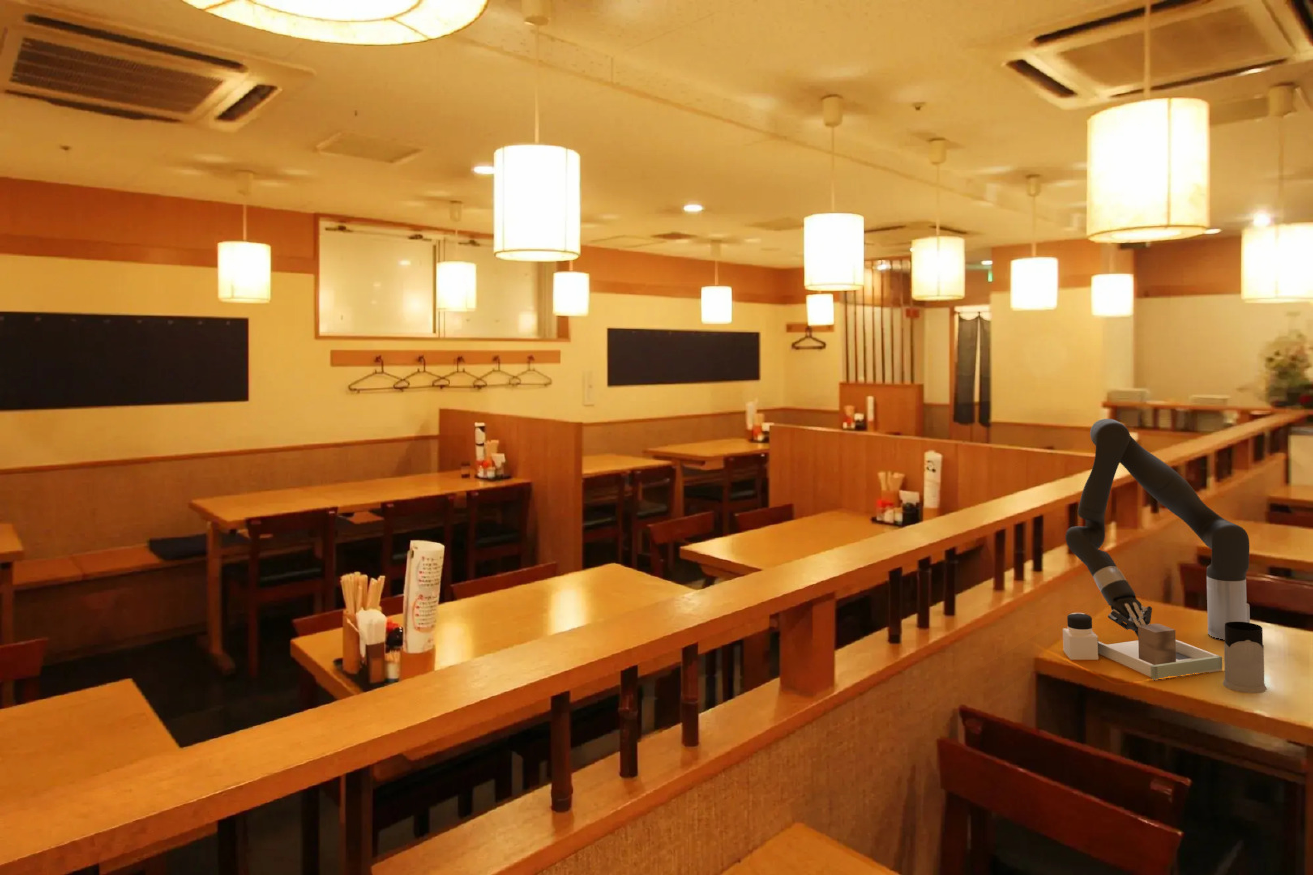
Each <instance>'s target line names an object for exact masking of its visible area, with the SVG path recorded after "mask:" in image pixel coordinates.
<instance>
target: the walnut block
mask: <svg viewBox="0 0 1313 875" xmlns="http://www.w3.org/2000/svg"><path fill="white" fill-rule="evenodd" d="M1137 639H1138V645H1139V659H1141V660H1144V661H1146V662H1148V663H1151V664H1153V665H1158V664H1165V663H1172V662H1176V640H1177V639H1176V629H1174V628H1171V627H1169V626H1166V625H1163V624H1161V623H1157V622H1156V623H1150V624H1148V625H1142V626H1138V636H1137Z"/></svg>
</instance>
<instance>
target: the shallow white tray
mask: <svg viewBox="0 0 1313 875" xmlns="http://www.w3.org/2000/svg"><path fill="white" fill-rule="evenodd" d="M1176 652H1178V653H1180V654H1183V655H1185V656H1188V657H1191V658H1189V659H1182V660H1178V659H1176V662H1172V663H1165V664H1158V665H1153V664H1151V663H1148V662H1146V661H1144V660H1141V659H1139V645H1138V640H1131V641H1124V642H1118V643H1116V642H1115V643H1109V644H1106V643H1103V642H1102V641H1099V640H1098V655H1101V656H1103V657H1106V658H1108V659H1109V660H1112V661H1114V662H1116V663H1119V664H1121V665H1122V666H1125V667H1127V668H1130V669H1132V670H1134V671H1136V672H1138V673H1140V674H1142V675H1145V676H1147V677H1150V678H1151V679H1153V680H1152V681H1154V680H1155V681H1157V680H1156V679H1159V678H1164V677H1168V676H1181V675H1186V674H1193V673H1194V674H1195V673H1203V672H1209V673H1214V672H1215V673H1216V672H1220V671H1221V670H1222V671H1223V657H1222V656H1220V655H1218V654H1215V653H1213V652H1210V651H1207V650H1205V649H1201V648H1199V647H1196V646H1194V645H1192V644H1189V643H1186V642H1184V641H1181V640H1178V639H1176ZM1222 671H1221V672H1222ZM1203 674H1204V673H1203ZM1151 679H1150V680H1151Z"/></svg>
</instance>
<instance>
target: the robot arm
mask: <svg viewBox="0 0 1313 875" xmlns="http://www.w3.org/2000/svg"><path fill="white" fill-rule="evenodd" d="M1089 435H1090V439H1091V442H1092V444H1093V445H1094V446H1095V453H1094V454H1095V455H1094V461H1093V465H1092V468H1091V471H1090V473H1089V476H1088V477H1087V480H1086V482H1085V485H1084V487H1083V488H1082V492H1081V496H1080V499H1079V500H1080V501H1079V503H1078V507H1077V508H1078V509H1077V515H1078V516H1079V517H1080V519H1083V520H1085V526H1082V525H1081V526H1080V525H1078V526H1076V525H1075V526H1071V527H1069V528H1068V529H1067V530H1066V533H1065V542H1066V545H1067V546H1068V549H1069V550H1071V552H1072V553H1073V554H1074V555H1075V556H1076V557H1077V558H1078V560H1080V561H1081V562H1082V563H1083V564H1084V565H1085V566H1086V567H1087V568H1086V569H1088V571H1089V573H1090V575H1091V576H1092V578H1093V579H1094V583H1095V584H1096V587H1097V588H1098V590H1099V591H1100V593H1101V595H1102V596H1103V598H1104V599H1105V600H1104V601H1106V603H1107V605H1108V606H1110V608H1111V611H1110V613H1109V614H1108V615H1107V618H1108V619H1109V620H1110V621H1112V622H1114V623H1116V624H1117V625H1119V626H1120V627H1122V628H1124V629H1125V630H1127V631H1128V630H1132V631H1133V632H1134V634H1136V636H1137V637H1138V626H1142V625H1149V624H1151V622H1152V620H1151V619H1152V615H1153V614H1152V612H1153V608H1152V606H1144V605H1142V602H1141V601H1139V600H1138V599H1137V597H1136V593H1135V591H1134V589H1133V587H1132V586H1131V585H1130V583H1129V581H1128V580H1127V578H1126V577H1125V575H1124V573H1123V572H1122V571H1121V570H1120V568H1118V566H1117V564H1116V562H1115V561H1114V559H1113V558H1112V556H1111V555H1110V554H1109V553H1108V552H1107V551H1105V550H1102V549H1100V548H1101V547H1102V546H1103V544H1104V541H1105V537H1106V536H1105V535H1106V534H1105V532H1106V531H1105V530H1106V529H1105V528H1106V527H1105V513H1106V510H1107V506H1108V502H1109V498H1110V494H1111V490H1112V487H1113V483H1114V479H1115V476H1116V473H1117V470H1118V467H1119V464H1120V465H1122V466H1123V467H1124V469H1126V470H1127V471H1128V473H1129V474H1130V475H1131V476H1132V477H1133V479H1135V481H1136V482H1137V483H1138V484H1139V485H1140V486H1141V487H1142V488H1143V490H1145V491H1146V492H1147V493H1148V494H1149V495H1150V496H1152V498H1154V500H1156V501H1157V502H1159V504H1161V506H1164V508H1166V509H1167V510H1168V511H1170V512H1171V513H1172V514H1173V515H1175V516H1176V517H1178V518H1179V519H1180V520H1182V521H1183V522H1184V523H1185V524H1186V525H1187V526H1188V527H1189V528H1190V529H1191V530H1192V531H1193V532H1194V534H1196V535H1197V537H1198V538H1199V539H1200V540H1201V541H1202V542H1203V543H1204V545H1206V547H1208V549H1211V561H1210V562H1211V563H1210V564H1209V565H1208V566H1207V567H1206V600H1207V601H1206V603H1207V604H1206V605H1207V606H1206V607H1207V608H1206V609H1207V612H1206V613H1207V635H1208V634H1209V635H1211V636H1212V637H1211V636H1210V637H1211V638H1213V637H1215V638H1214V639H1216V638H1219V639H1218V640H1220V639H1223V640H1222V641H1225V623H1227V622H1233V621H1235V622H1248V623H1251V619H1250V618H1251V616H1250V614H1251V613H1250V611H1251V610H1250V604H1249V603H1247V572H1248V571H1249V566H1250V538H1249V534H1248V533H1247V531H1246V529H1244V528H1243V527H1242V526H1240V525H1238V524H1236V523H1233V522H1231V521H1228V520H1227V519H1225V518H1223V517H1222V516H1220V515H1219V514H1217V513H1216V512H1215V511H1214V510H1212V508H1210V507H1208V506H1207V505H1206V504H1205V502H1203V500H1202V499H1201V498H1200V497H1199V495H1198V494H1197V492H1196V491H1195V489H1194V488H1193V487H1192V486H1191V485H1190V483H1189V482H1188V481H1187V480H1186V479H1185V478H1183V476H1182V475H1180V474H1179V473H1178V472H1177V471H1176V470H1175V469H1174V468H1172V467H1171V466H1170V465H1169V464H1167V463H1166V462H1164V461H1163V460H1161V458H1159V457H1157V456H1155V455H1154V454H1152V453H1151V452H1150V451H1148V450H1146V449H1145V448H1144V447H1142V445H1140V443H1138V441H1136V439H1135V438H1133V436H1131V434H1130V431H1129V429H1128V427H1127V426H1126V425H1125V424H1123V423H1122V422H1120V421H1119V420H1116V419H1112V418H1103V419H1099V420H1096V421H1095V422H1094V423H1093V424H1092V426H1091V428H1090V432H1089ZM1209 635H1208V636H1209Z"/></svg>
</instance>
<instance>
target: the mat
mask: <svg viewBox="0 0 1313 875" xmlns="http://www.w3.org/2000/svg"><path fill="white" fill-rule="evenodd" d="M1189 658H1191V657H1188V656H1185V655H1183V654H1180V653H1178V652H1176V659H1178V660H1182V659H1189Z"/></svg>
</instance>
